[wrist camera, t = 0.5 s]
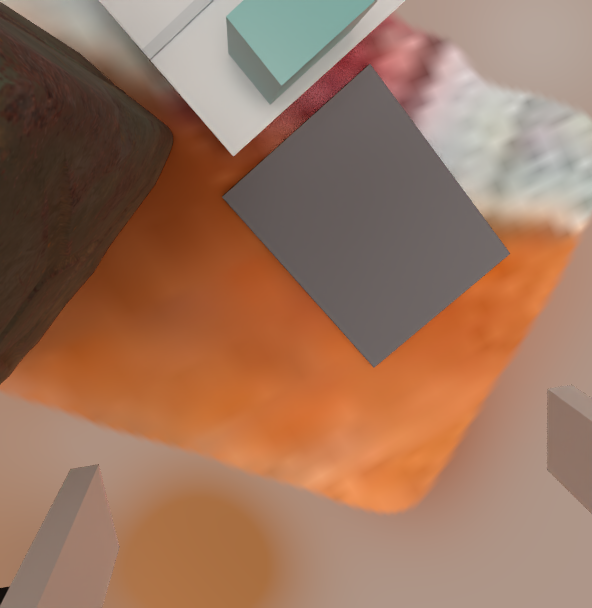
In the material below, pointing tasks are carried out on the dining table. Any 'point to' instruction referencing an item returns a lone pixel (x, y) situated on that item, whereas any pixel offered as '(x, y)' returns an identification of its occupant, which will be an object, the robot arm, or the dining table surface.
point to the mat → (367, 218)
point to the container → (61, 176)
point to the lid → (245, 52)
